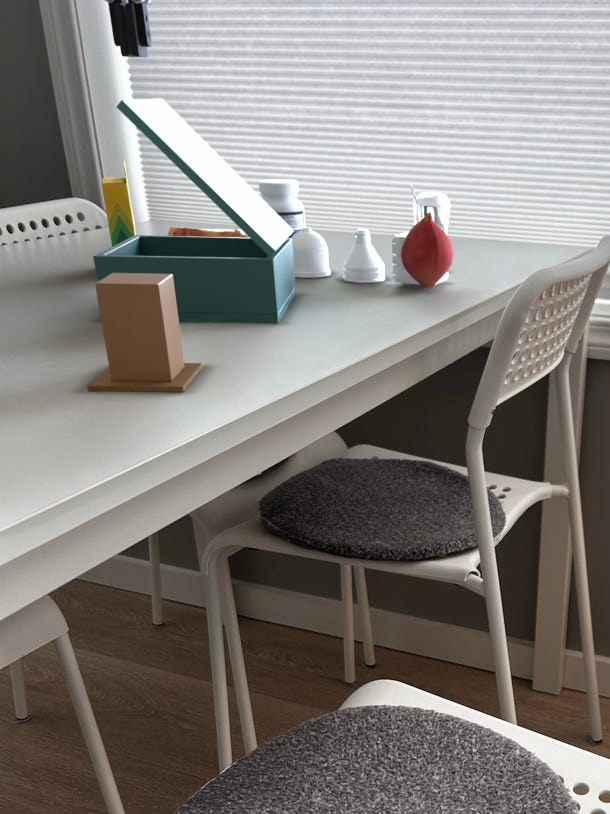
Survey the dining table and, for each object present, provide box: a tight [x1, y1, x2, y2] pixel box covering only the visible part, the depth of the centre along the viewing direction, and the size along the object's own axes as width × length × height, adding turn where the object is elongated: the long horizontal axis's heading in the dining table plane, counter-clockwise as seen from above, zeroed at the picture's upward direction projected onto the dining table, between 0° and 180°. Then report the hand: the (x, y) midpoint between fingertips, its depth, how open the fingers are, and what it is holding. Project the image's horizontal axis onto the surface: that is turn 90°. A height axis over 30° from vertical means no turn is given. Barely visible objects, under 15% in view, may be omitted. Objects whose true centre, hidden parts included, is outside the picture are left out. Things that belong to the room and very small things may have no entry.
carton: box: [94, 273, 185, 382], centre depth 71 cm, size 4×4×7 cm
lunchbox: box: [92, 234, 297, 324], centre depth 96 cm, size 17×15×6 cm
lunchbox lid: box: [116, 98, 294, 257], centre depth 91 cm, size 17×15×1 cm
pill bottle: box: [258, 178, 306, 238], centre depth 116 cm, size 6×6×10 cm
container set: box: [291, 226, 449, 286], centre depth 112 cm, size 20×5×6 cm, turn 70°
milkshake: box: [409, 184, 451, 235], centre depth 117 cm, size 4×5×10 cm
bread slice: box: [167, 225, 249, 237], centre depth 128 cm, size 18×18×4 cm
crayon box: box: [101, 160, 137, 247], centre depth 114 cm, size 7×3×12 cm, turn 18°
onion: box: [401, 212, 454, 290], centre depth 106 cm, size 6×6×8 cm
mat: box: [86, 362, 203, 393], centre depth 73 cm, size 7×7×1 cm
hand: (134, 56), depth 86 cm, fingers closed
